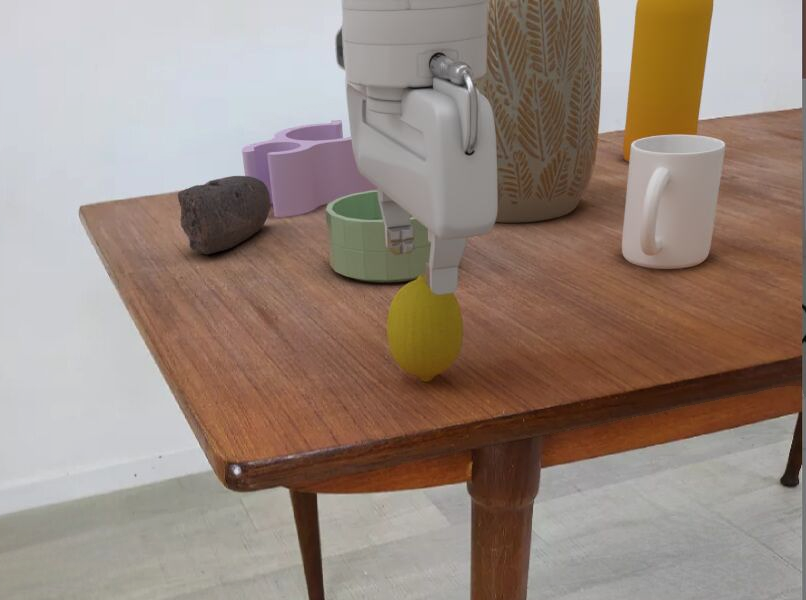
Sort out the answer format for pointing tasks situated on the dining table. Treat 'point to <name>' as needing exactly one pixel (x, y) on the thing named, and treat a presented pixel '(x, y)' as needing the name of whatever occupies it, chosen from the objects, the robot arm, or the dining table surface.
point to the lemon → (424, 330)
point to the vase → (543, 103)
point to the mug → (671, 200)
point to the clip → (305, 167)
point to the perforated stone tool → (223, 212)
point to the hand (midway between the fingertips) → (419, 270)
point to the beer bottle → (667, 68)
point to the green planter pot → (370, 242)
